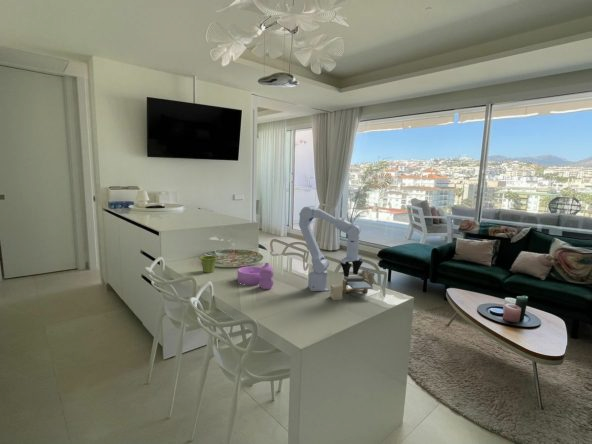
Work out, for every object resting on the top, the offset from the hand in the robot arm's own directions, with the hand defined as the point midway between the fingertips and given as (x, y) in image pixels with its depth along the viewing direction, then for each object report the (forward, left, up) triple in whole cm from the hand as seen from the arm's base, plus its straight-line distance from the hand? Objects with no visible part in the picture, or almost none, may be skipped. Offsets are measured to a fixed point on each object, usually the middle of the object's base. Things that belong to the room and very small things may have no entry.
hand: (350, 275), depth 164 cm
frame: (+3, +3, -10) cm, 11 cm away
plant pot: (-73, +43, -10) cm, 85 cm away
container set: (-46, +19, -10) cm, 51 cm away
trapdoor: (+3, -1, -6) cm, 7 cm away
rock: (+14, +11, -10) cm, 21 cm away
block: (-9, -6, -10) cm, 14 cm away
